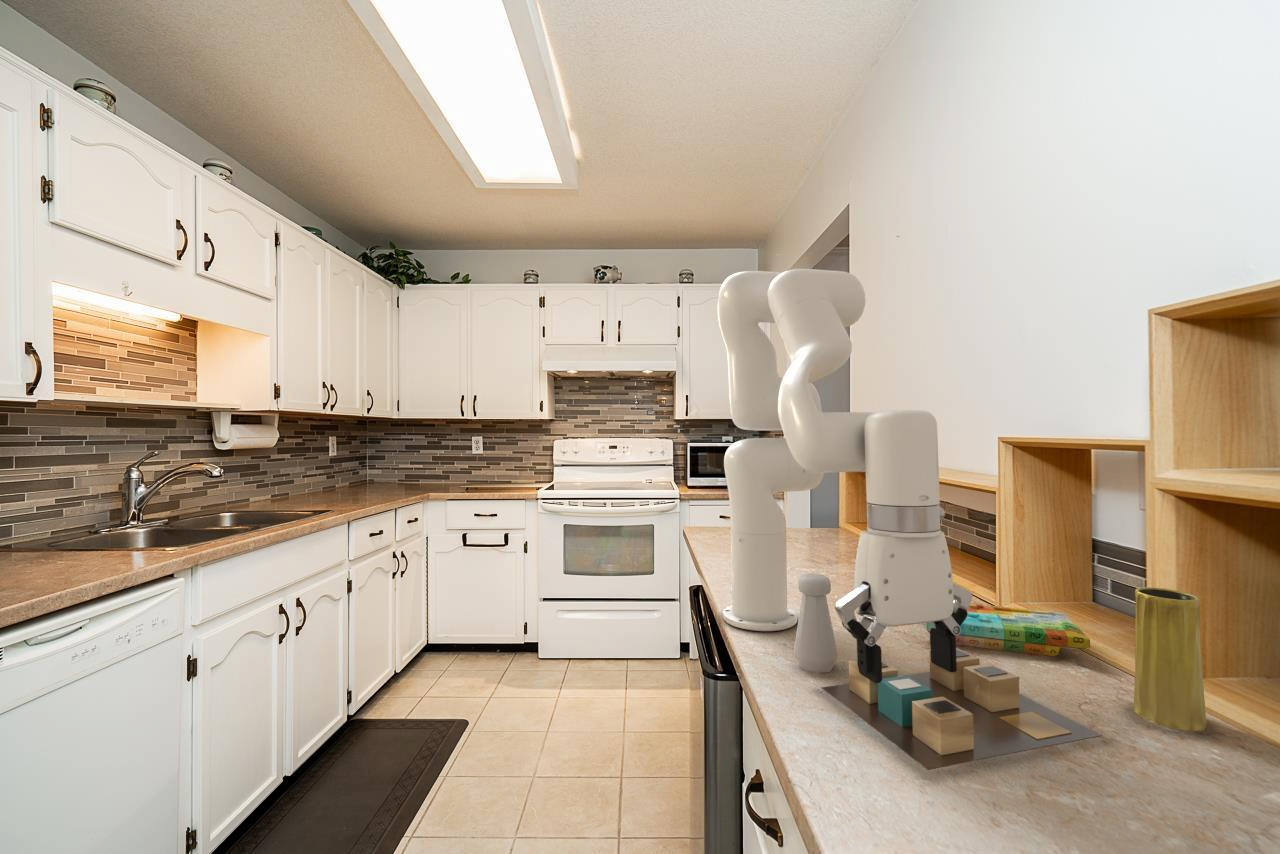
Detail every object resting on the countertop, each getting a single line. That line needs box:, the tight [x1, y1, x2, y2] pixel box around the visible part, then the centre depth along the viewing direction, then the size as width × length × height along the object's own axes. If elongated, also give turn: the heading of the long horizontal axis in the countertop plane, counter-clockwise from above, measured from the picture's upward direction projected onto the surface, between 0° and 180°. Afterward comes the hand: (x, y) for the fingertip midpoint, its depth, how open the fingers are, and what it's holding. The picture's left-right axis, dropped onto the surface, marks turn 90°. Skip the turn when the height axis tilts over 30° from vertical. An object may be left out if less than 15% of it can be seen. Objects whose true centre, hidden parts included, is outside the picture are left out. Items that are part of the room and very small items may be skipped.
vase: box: [1132, 586, 1208, 732], centre depth 63 cm, size 6×6×14 cm
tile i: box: [928, 647, 981, 691], centre depth 72 cm, size 4×4×4 cm
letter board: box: [820, 671, 1103, 771], centre depth 65 cm, size 18×22×1 cm
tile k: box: [912, 697, 974, 755], centre depth 59 cm, size 4×4×4 cm
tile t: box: [963, 662, 1020, 712], centre depth 67 cm, size 4×4×4 cm
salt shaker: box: [793, 572, 839, 674], centre depth 78 cm, size 6×6×13 cm
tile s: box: [878, 674, 933, 728], centre depth 64 cm, size 4×4×4 cm
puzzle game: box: [925, 600, 1091, 657], centre depth 87 cm, size 12×5×20 cm
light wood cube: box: [848, 659, 899, 704], centre depth 69 cm, size 4×4×4 cm
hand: (907, 672), depth 63 cm, fingers open, 9 cm apart
